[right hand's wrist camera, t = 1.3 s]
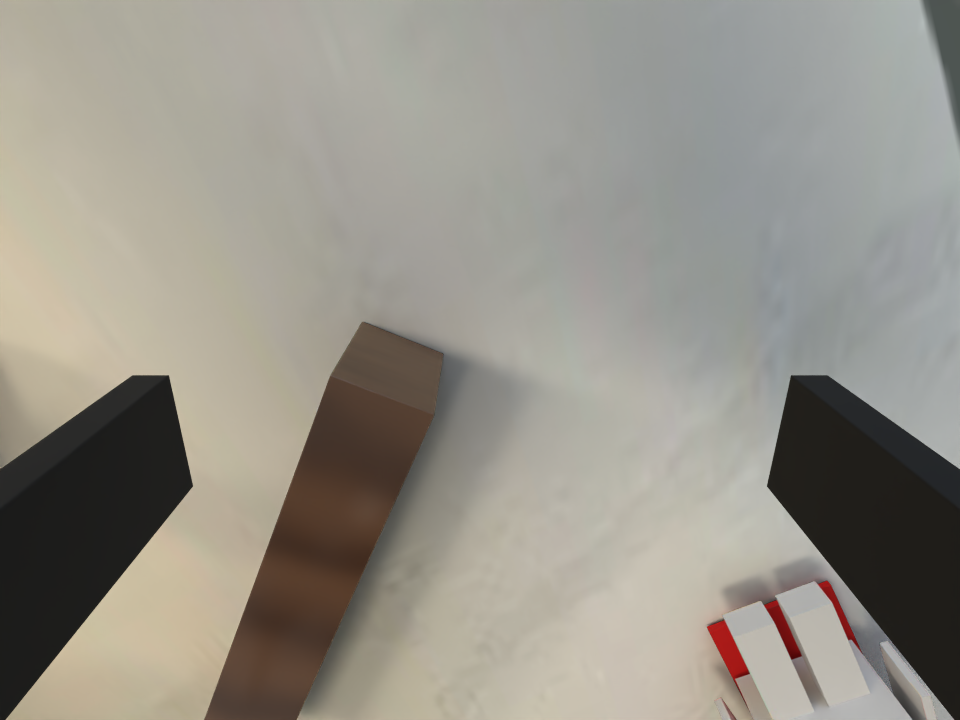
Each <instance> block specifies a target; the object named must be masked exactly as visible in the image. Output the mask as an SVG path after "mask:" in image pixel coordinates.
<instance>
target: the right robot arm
mask: <svg viewBox="0 0 960 720" xmlns="http://www.w3.org/2000/svg"><path fill="white" fill-rule="evenodd" d="M192 487H193V484H192V479H191V475H190V470H189V466H188V461H187V456H186V452H185V447H184V443H183V438H182V433H181V429H180V424H179V420H178V415H177V411H176V406H175V401H174V397H173V392H172V388H171V383H170V378H169V375H133V376H131V377H130V378H128V379H127V380H125V381H124V382H123V383H121V384H120V385H118V386H117V387H116V388H114V389H113V390H111V391H110V392H109V393H107V394H106V395H104V396H103V397H102V398H100V399H99V400H97V401H96V402H94V403H93V404H92V405H90V406H89V407H87V408H86V409H85V410H83V411H82V412H80V413H79V414H78V415H76V416H75V417H73V418H72V419H71V420H69V421H68V422H66V423H65V424H64V425H62V426H61V427H59V428H58V429H56V430H55V431H54V432H52V433H51V434H49V435H48V436H47V437H45V438H44V439H42V440H41V441H40V442H38V443H37V444H35V445H34V446H33V447H31V448H30V449H28V450H27V451H25V452H24V453H23V454H21V455H20V456H18V457H17V458H16V459H14V460H13V461H11V462H10V463H9V464H7V465H6V466H4V467H3V468H2V469H0V720H6V718H7V717H8V716H9V715H10V713H11V712H12V711H13V710H14V709H15V707H16V706H17V705H18V704H19V702H20V701H21V700H22V699H23V697H24V696H25V695H26V694H27V692H28V691H29V690H30V689H31V687H32V686H33V685H34V684H35V682H36V681H37V680H38V679H39V677H40V676H41V675H42V674H43V672H44V671H45V670H46V669H47V667H48V666H49V665H50V664H51V662H52V661H53V660H54V659H55V657H56V656H57V655H58V654H59V652H60V651H61V650H62V649H63V647H64V646H65V645H66V644H67V643H68V641H69V640H70V639H71V638H72V636H73V635H74V634H75V633H76V631H77V630H78V629H79V628H80V626H81V625H82V624H83V623H84V621H85V620H86V619H87V618H88V616H89V615H90V614H91V613H92V611H93V610H94V609H95V608H96V606H97V605H98V604H99V603H100V601H101V600H102V599H103V598H104V596H105V595H106V594H107V593H108V591H109V590H110V589H111V588H112V586H113V585H114V584H115V583H116V581H117V580H118V579H119V578H120V577H121V575H122V574H123V573H124V572H125V570H126V569H127V568H128V567H129V565H130V564H131V563H132V562H133V560H134V559H135V558H136V557H137V555H138V554H139V553H140V552H141V550H142V549H143V548H144V547H145V545H146V544H147V543H148V542H149V540H150V539H151V538H152V537H153V535H154V534H155V533H156V532H157V530H158V529H159V528H160V527H161V525H162V524H163V523H164V522H165V520H166V519H167V518H168V517H169V515H170V514H171V513H172V512H173V511H174V509H175V508H176V507H177V506H178V504H179V503H180V502H181V501H182V499H183V498H184V497H185V496H186V494H187V493H188V492H189V491H190V489H191V488H192ZM767 487H768V488H769V489H770V491H771V492H772V493H773V494H774V496H775V497H776V498H777V499H778V501H779V502H780V503H781V504H782V506H783V507H784V508H785V509H786V511H787V512H788V513H789V514H790V515H791V517H792V518H793V519H794V520H795V522H796V523H797V524H798V525H799V527H800V528H801V529H802V530H803V532H804V533H805V534H806V535H807V537H808V538H809V539H810V540H811V542H812V543H813V544H814V545H815V547H816V548H817V549H818V550H819V552H820V553H821V554H822V555H823V557H824V558H825V559H826V560H827V562H828V563H829V564H830V565H831V567H832V568H833V569H834V570H835V572H836V573H837V574H838V575H839V577H840V578H841V579H842V580H843V581H844V583H845V584H846V585H847V586H848V588H849V589H850V590H851V591H852V593H853V594H854V595H855V596H856V598H857V599H858V600H859V601H860V603H861V604H862V605H863V606H864V608H865V609H866V610H867V611H868V613H869V614H870V615H871V616H872V618H873V619H874V620H875V621H876V623H877V624H878V625H879V626H880V628H881V629H882V630H883V631H884V633H885V634H886V635H887V636H888V638H889V639H890V640H891V641H892V643H893V644H894V645H895V646H896V647H897V649H898V650H899V651H900V652H901V654H902V655H903V656H904V657H905V659H906V660H907V661H908V662H909V664H910V665H911V666H912V667H913V669H914V670H915V671H916V672H917V674H918V675H919V676H920V677H921V679H922V680H923V681H924V682H925V684H926V685H927V686H928V687H929V689H930V690H931V691H932V692H933V694H934V695H935V696H936V697H937V699H938V700H939V701H940V702H941V704H942V705H943V706H944V707H945V709H946V710H947V711H948V712H949V713H950V715H951V716H952V717H953V718H954V720H960V469H958V468H957V467H956V466H954V465H953V464H951V463H950V462H949V461H947V460H946V459H944V458H943V457H942V456H940V455H939V454H937V453H936V452H935V451H933V450H932V449H930V448H929V447H927V446H926V445H925V444H923V443H922V442H920V441H919V440H918V439H916V438H915V437H913V436H912V435H911V434H909V433H908V432H906V431H905V430H904V429H902V428H901V427H899V426H898V425H896V424H895V423H894V422H892V421H891V420H889V419H888V418H887V417H885V416H884V415H882V414H881V413H880V412H878V411H877V410H875V409H874V408H873V407H871V406H870V405H868V404H867V403H866V402H864V401H863V400H861V399H860V398H858V397H857V396H856V395H854V394H853V393H851V392H850V391H849V390H847V389H846V388H844V387H843V386H842V385H840V384H839V383H837V382H836V381H835V380H833V379H832V378H830V377H829V376H827V375H791V378H790V383H789V388H788V392H787V397H786V401H785V406H784V411H783V415H782V420H781V424H780V429H779V433H778V438H777V443H776V447H775V452H774V456H773V461H772V466H771V470H770V475H769V479H768V484H767Z"/></svg>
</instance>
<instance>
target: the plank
mask: <svg viewBox="0 0 960 720" xmlns="http://www.w3.org/2000/svg"><path fill="white" fill-rule="evenodd" d="M442 361H443V354H442V353H440V352H437V351H435V350H432V349H430V348H427V347H425V346H422V345H420V344H417V343H415V342H412V341H410V340H407V339H405V338H402V337H400V336H397V335H395V334H392V333H390V332H387V331H385V330H382V329H380V328H377V327H375V326H372V325H370V324H367V323H364V322H362V323H361V325H360V326H359V328H358V330H357V331H356V333H355V335H354V337H353V338H352V340H351V342H350V343H349V345H348V347H347V348H346V350H345V352H344V353H343V355H342V357H341V359H340V360H339V362H338V364H337V365H336V367H335V369H334V370H333V372H332V374H331V375H330V378H329V381H328V383H327V386H326V389H325V392H324V394H323V397H322V400H321V402H320V405H319V408H318V411H317V413H316V416H315V419H314V422H313V424H312V427H311V430H310V433H309V435H308V438H307V441H306V443H305V446H304V449H303V452H302V454H301V457H300V460H299V463H298V465H297V468H296V471H295V473H294V476H293V479H292V482H291V484H290V487H289V490H288V493H287V495H286V498H285V501H284V504H283V506H282V509H281V512H280V514H279V517H278V520H277V523H276V525H275V528H274V531H273V534H272V536H271V539H270V542H269V544H268V547H267V550H266V553H265V555H264V558H263V561H262V564H261V566H260V569H259V572H258V575H257V577H256V580H255V583H254V585H253V588H252V591H251V594H250V596H249V599H248V602H247V605H246V607H245V610H244V613H243V615H242V618H241V621H240V624H239V626H238V629H237V632H236V635H235V637H234V640H233V643H232V646H231V648H230V651H229V654H228V656H227V659H226V662H225V665H224V667H223V670H222V673H221V676H220V678H219V681H218V684H217V686H216V689H215V692H214V695H213V697H212V700H211V703H210V706H209V708H208V711H207V714H206V717H205V719H204V720H297V718H298V715H299V713H300V711H301V709H302V707H303V704H304V702H305V700H306V698H307V696H308V693H309V691H310V689H311V687H312V684H313V682H314V680H315V678H316V676H317V673H318V671H319V669H320V667H321V665H322V662H323V660H324V658H325V656H326V654H327V651H328V649H329V647H330V645H331V642H332V640H333V638H334V636H335V634H336V631H337V629H338V627H339V625H340V623H341V620H342V618H343V616H344V614H345V611H346V609H347V607H348V605H349V603H350V600H351V598H352V596H353V594H354V592H355V589H356V587H357V585H358V583H359V581H360V578H361V576H362V574H363V572H364V569H365V567H366V565H367V563H368V561H369V558H370V556H371V554H372V552H373V550H374V547H375V545H376V543H377V541H378V539H379V536H380V534H381V532H382V530H383V527H384V525H385V523H386V521H387V519H388V516H389V514H390V512H391V510H392V508H393V505H394V503H395V501H396V499H397V497H398V494H399V492H400V490H401V488H402V485H403V483H404V481H405V479H406V477H407V474H408V472H409V470H410V468H411V466H412V463H413V461H414V459H415V457H416V455H417V452H418V450H419V448H420V446H421V443H422V441H423V439H424V437H425V435H426V432H427V430H428V428H429V426H430V424H431V421H432V419H433V417H434V413H435V407H436V400H437V394H438V387H439V380H440V374H441V367H442Z"/></svg>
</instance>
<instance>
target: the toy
mask: <svg viewBox="0 0 960 720" xmlns="http://www.w3.org/2000/svg"><path fill="white" fill-rule="evenodd" d="M775 597H776V599H777V600H775V601H773V602H770V603H768V604H765V605H763V603H762V602H761V601H758V602H756V603H753V604H750V605H747V606H744V607H742V608H739V609H736V610H733V611H731V612H728V613H725V614H722V615H723V618H724V620H723V621H721V622H718V623H716V624H713V625H710V626H708V627H707V628H708V631H709V633H710V635H711V637H712V638H713V640H714V642H715V644H716V646H717V648H718V650H719V652H720V654H721V656H722V658H723V660H724V662H725V664H726V666H727V668H728V670H729V672H730V674H731V676H732V678H733V680H734V682H735V684H736V686H737V687H738V689H739V691H740V693H741V695H742V697H743V699H744V701H745V703H746V705H747V707H748V709H749V711H750V713H751V715H752V717H753V719H754V720H937V718H936V714H935V710H934V707H933V703H932V699H931V695H930V694H929V693H928V691H927V690H926V689H925V688H924V686H923V685H922V684H921V683H920V681H919V680H918V679H917V677H916V676H915V675H914V674H913V672H912V671H911V670H910V669H909V667H908V666H907V665H906V664H905V662H904V661H903V660H902V659H901V657H900V656H899V655H898V654H897V652H896V651H895V650H894V649H893V647H892V646H891V645H890V644H889V642H888V641H886V642H882V643H879V644H880V648H881V651H882V655H883V659H884V662H885V666H886V669H887V673H888V677H889V680H890V684H891V687H892V691H893V694H894V695H893V694H892V692H891V691H890V690H889V688H888V687H887V686H886V684H885V683H884V682H883V680H882V679H881V678H880V677H879V675H878V674H877V673H876V671H875V670H874V669H873V667H872V666H871V665H870V663H869V662H868V661H867V660H866V658H865V657H864V656H863V654H862V652H861V649H860V647H859V645H858V643H857V641H856V639H855V636H854V634H853V632H852V630H851V628H850V626H849V623H848V621H847V619H846V617H845V615H844V612H843V610H842V608H841V606H840V604H839V602H838V599H837V597H836V595H835V593H834V591H833V588H832V586H831V585H830V583H829V582H828V581H825V582H822V583H820V584H817V583H816V582H815V581H814V582H811V583H808V584H805V585H803V586H800V587H797V588H794V589H792V590H789V591H786V592H783V593H780V594H778V595H775ZM714 701H715V703H716V706H717V708H718V710H719V713H720V715H721V717H722V719H723V720H736V718H735V717H734V715H733V714H732V712H731V711H730V710H729V708H728V707H727V705H726V704H725V702H724V701H723V699H722V698H719V699H717V700H714Z"/></svg>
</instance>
